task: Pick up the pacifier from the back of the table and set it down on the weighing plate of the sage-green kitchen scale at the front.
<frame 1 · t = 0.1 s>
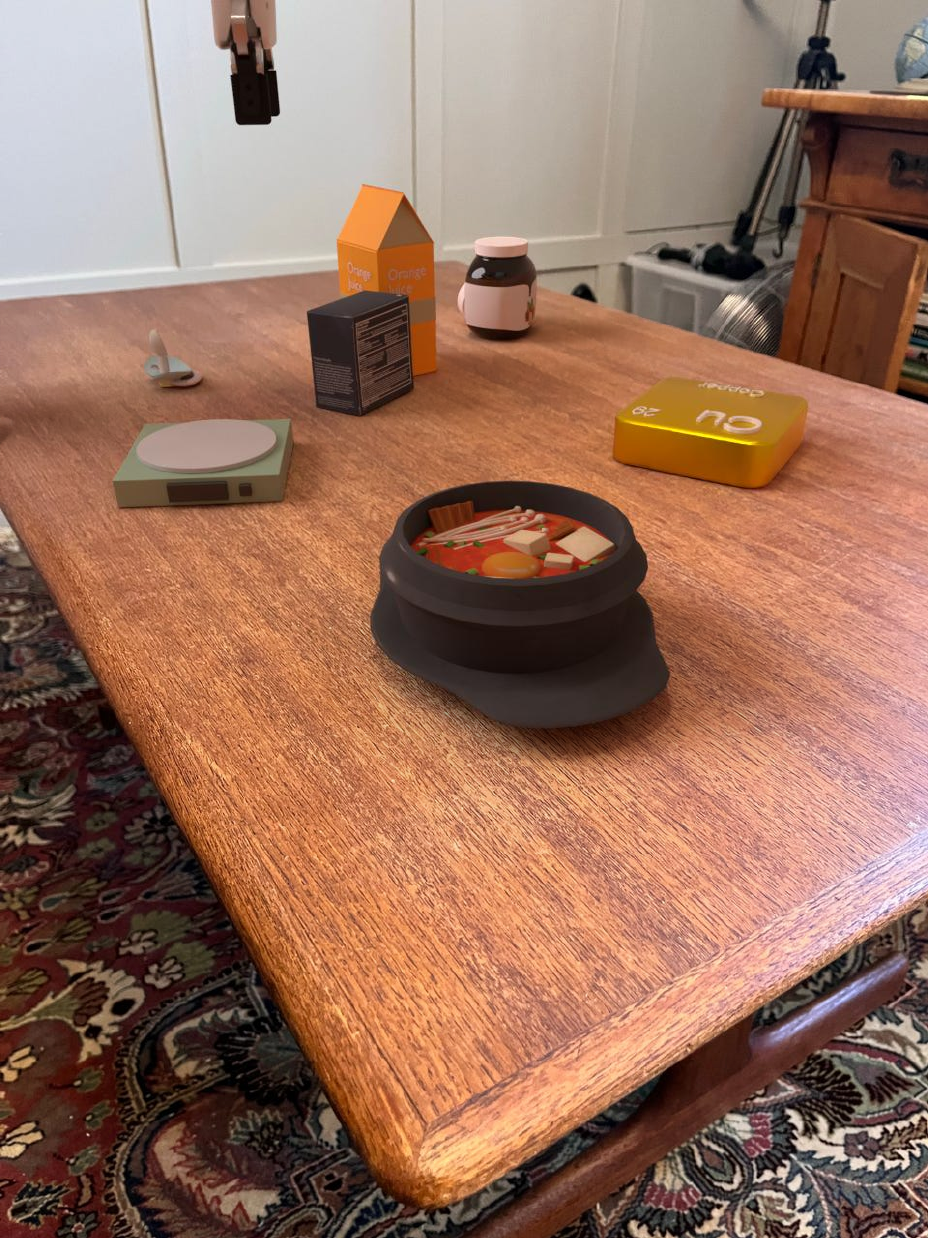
hand: (259, 120, 94), 28 cm above the table, tool pointing down, fingers open, 9 cm apart
orange juice: (390, 369, 118), on the table
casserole: (510, 641, 66), on the table
pacifier: (176, 383, 114), on the table
element tile: (707, 452, 94), on the table
small box: (365, 399, 108), on the table
scale: (211, 473, 90), on the table
spread jar: (492, 330, 133), on the table
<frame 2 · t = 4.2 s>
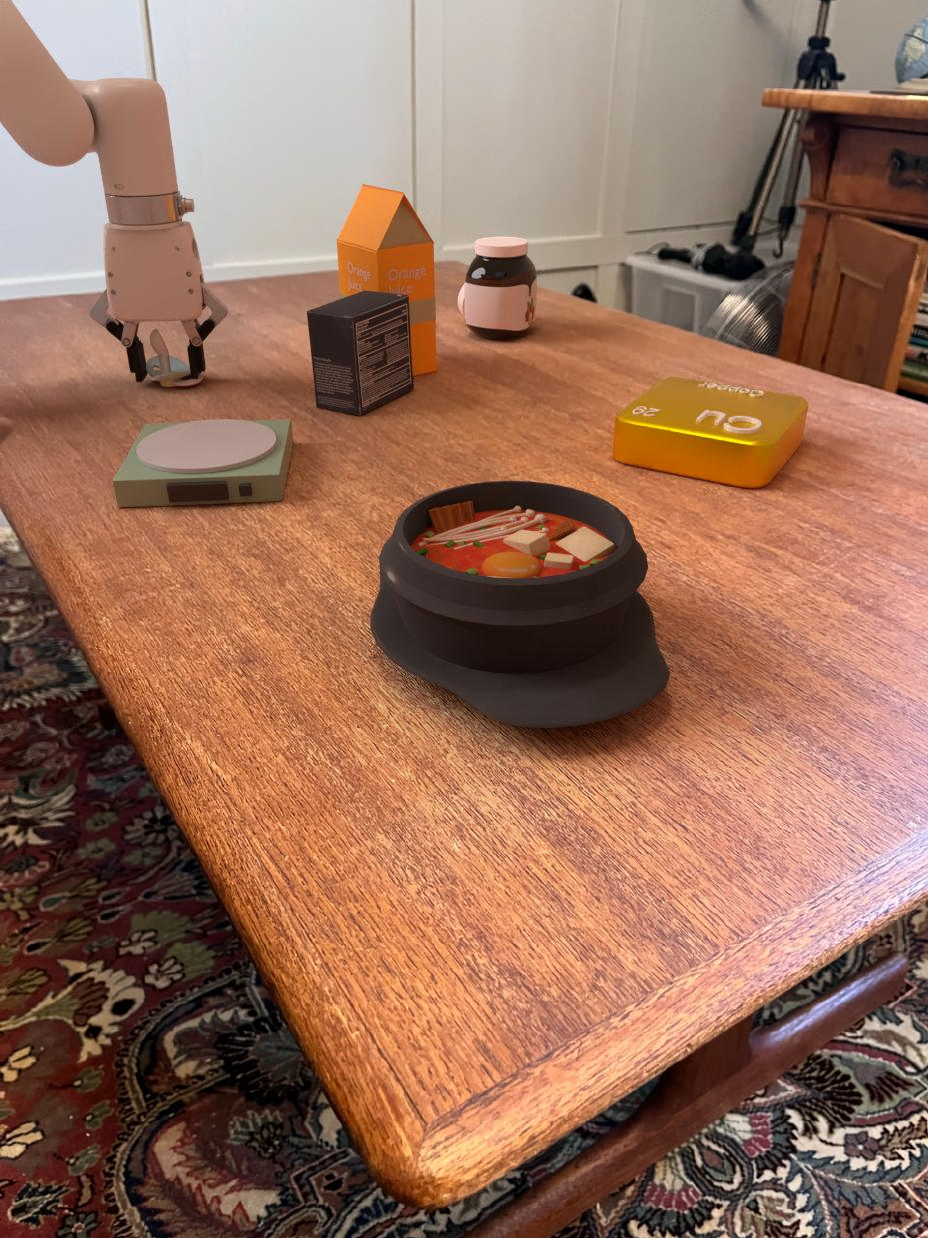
hand: (169, 376, 113), 1 cm above the table, tool pointing down, fingers closed on pacifier, 5 cm apart
pacifier: (177, 383, 114), on the table, touching gripper
everything else where it was.
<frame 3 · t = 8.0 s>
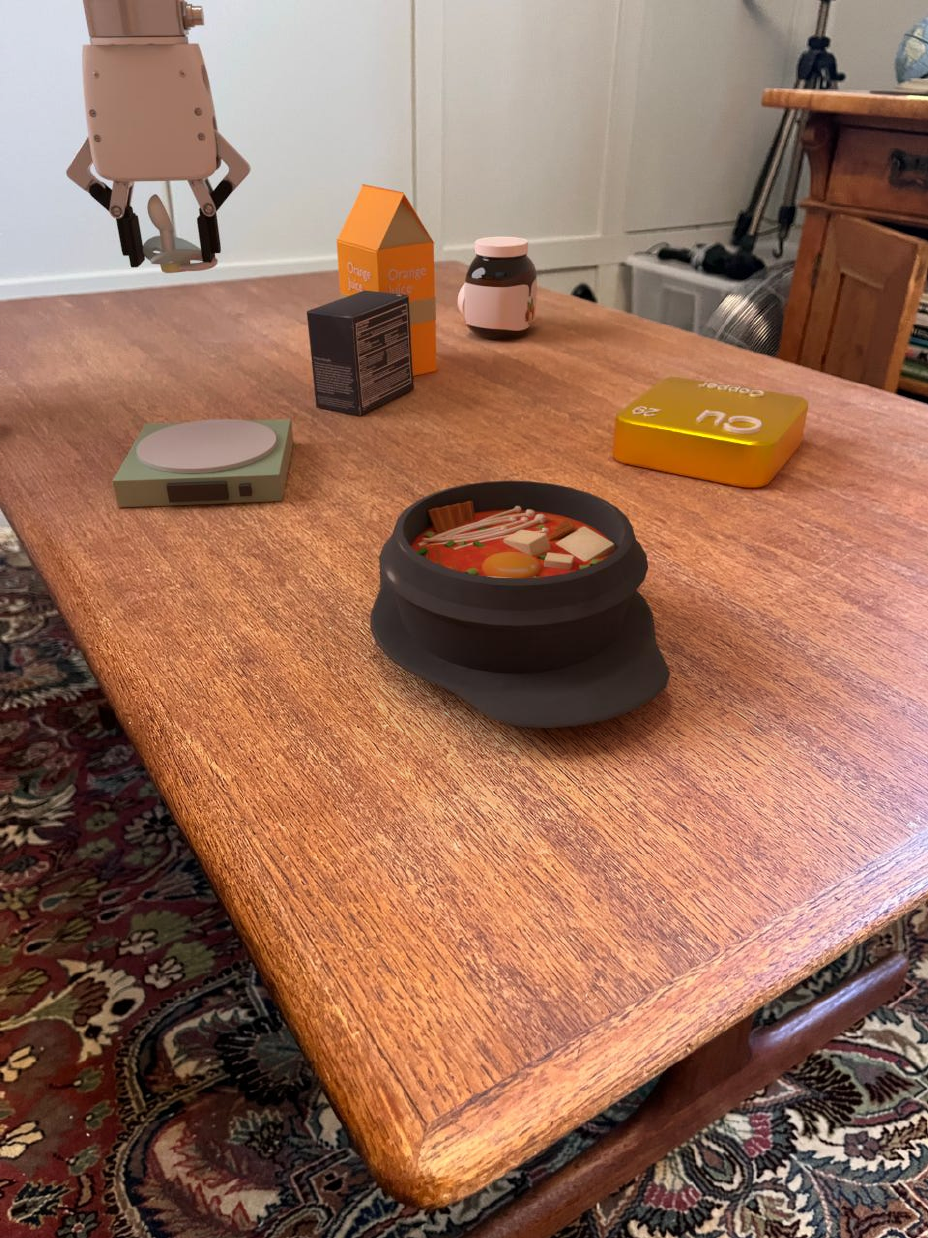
hand: (173, 261, 86), 18 cm above the table, tool pointing down, fingers closed on pacifier, 5 cm apart
pacifier: (184, 271, 87), point 17 cm above the table, touching gripper
everything else where it was.
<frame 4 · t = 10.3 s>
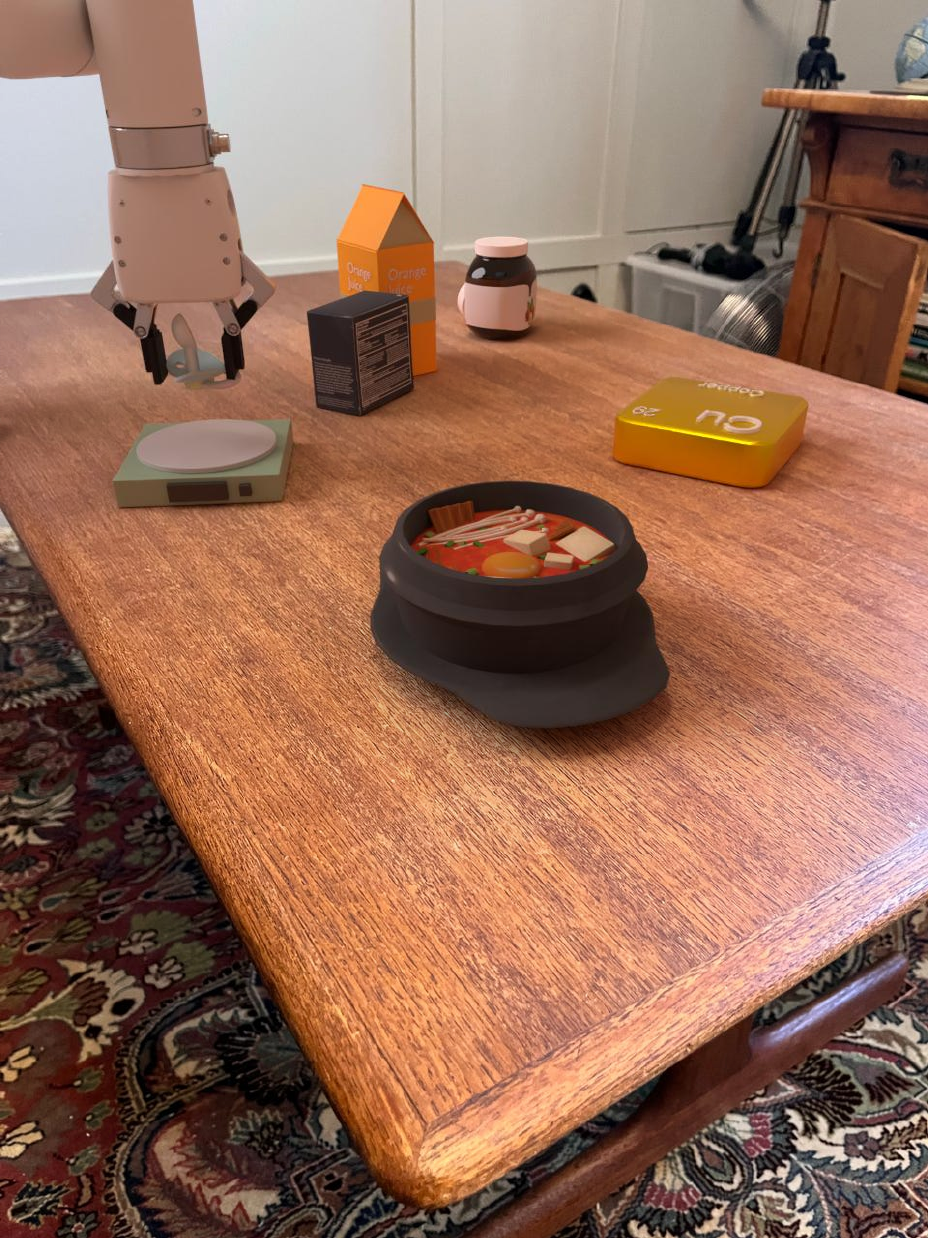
hand: (197, 376, 86), 9 cm above the table, tool pointing down, fingers closed on pacifier, 5 cm apart
pacifier: (207, 386, 86), point 8 cm above the table, touching gripper
everything else where it was.
when the fingers open (4 cm above the table, at t = 12.1 s): pacifier stays where it is, resting on scale.
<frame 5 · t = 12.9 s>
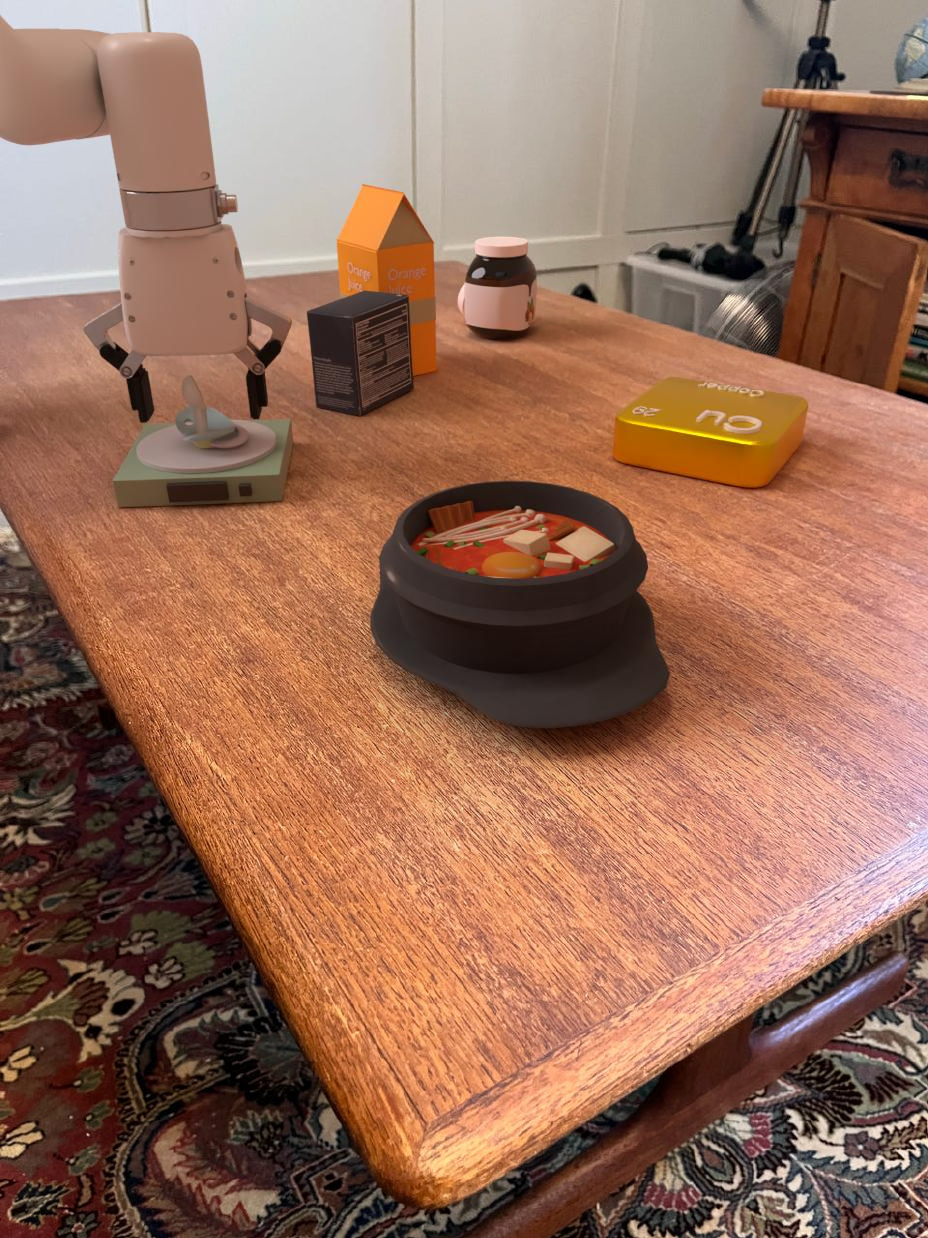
hand: (202, 415, 88), 5 cm above the table, tool pointing down, fingers open, 9 cm apart
pacifier: (215, 443, 89), point 3 cm above the table, touching scale
everything else where it was.
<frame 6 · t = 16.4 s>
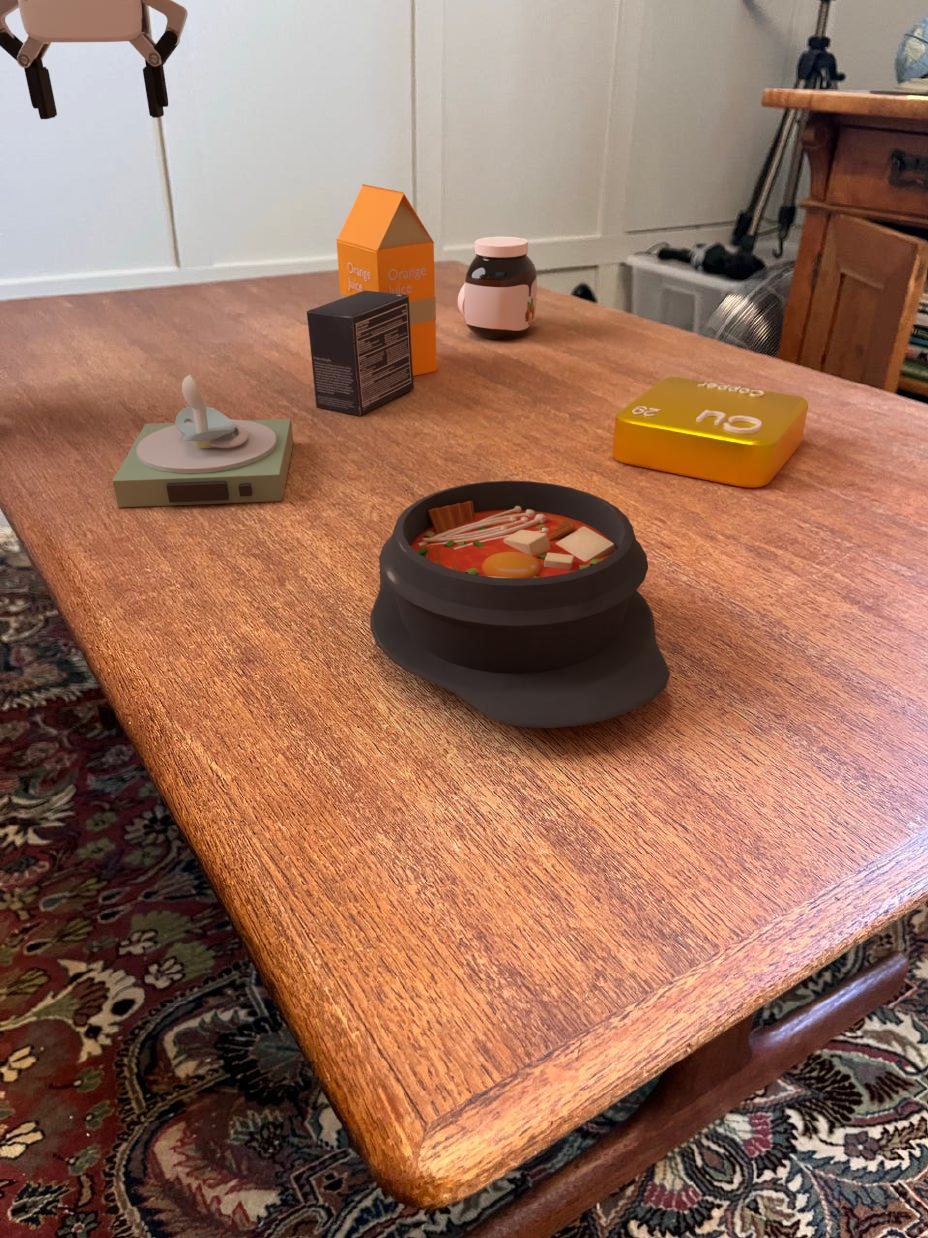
hand: (103, 116, 89), 28 cm above the table, tool pointing down, fingers open, 9 cm apart
nothing on the table moved.
at the end: pacifier inside the target area on the scale (0.7 cm from its centre), point 2.8 cm above the scale's base; the gripper is holding nothing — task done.
